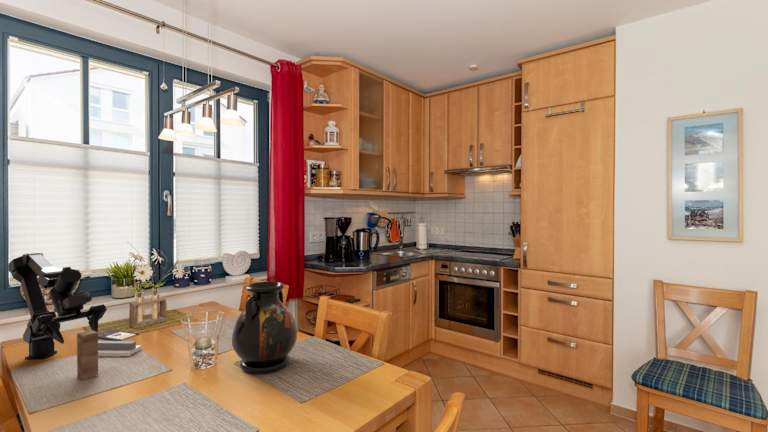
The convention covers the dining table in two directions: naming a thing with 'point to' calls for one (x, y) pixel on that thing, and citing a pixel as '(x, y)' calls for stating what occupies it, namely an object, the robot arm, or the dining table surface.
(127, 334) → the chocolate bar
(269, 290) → the amphora vase
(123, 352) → the board
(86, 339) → the walnut baton
